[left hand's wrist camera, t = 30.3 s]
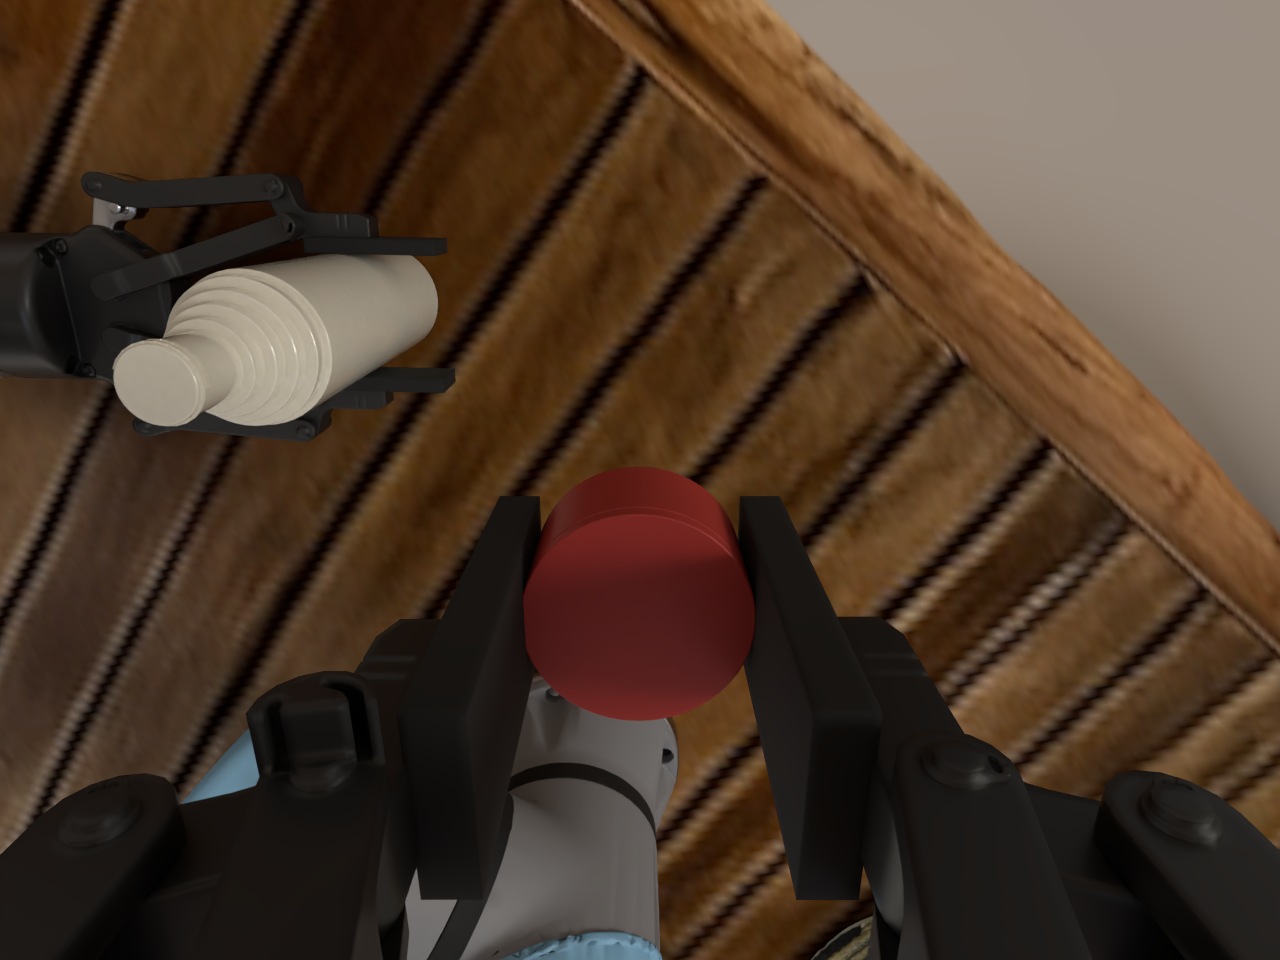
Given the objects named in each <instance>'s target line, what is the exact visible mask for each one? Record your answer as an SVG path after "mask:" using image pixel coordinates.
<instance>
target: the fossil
mask: <svg viewBox="0 0 1280 960" xmlns="http://www.w3.org/2000/svg"><path fill="white" fill-rule="evenodd" d="M872 918H873V916H871V917H868V918H866V919H864V920H861V921H859V922H857V923H855V924H853V925H851V926H849V927H848V928H846V929H845V930H843V931H842V932H840V933H839V934H838V935H837V936H836V937H834V938H833V939H832V940H831V941H829V942H828V943H827V945H826V946H825V947H824V948H822V949H821V950H819V951H818V952H817V953H816V954H815V956H814V957H813V958H812V959H811V960H867V953H868V946H869V939H870V932H871V925H872Z"/></svg>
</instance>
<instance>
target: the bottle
mask: <svg viewBox="0 0 1280 960" xmlns="http://www.w3.org/2000/svg"><path fill="white" fill-rule="evenodd" d="M437 311H438V298H437V292H436V288H435V285H434V283H433V280H432V278H431V277H430V275H429V273H428V272H427V270H426V269H425V268H424V266H423V265H422V264H421V263H420V262H419V261H418V260H416V259H415V258H414V257H413V256H409V255H363V254H321V255H315V256H308V257H302V258H296V259H289V260H283V261H277V262H270V263H264V264H257V265H251V266H245V267H238V268H232V269H226V270H222V271H218V272H215V273H212V274H210V275H208V276H206V277H204V278H202V279H201V280H199V281H198V282H197V283H196V284H194V285H193V286H192V287H191V288H189V289H188V290H187V291H186V292H184V294H183V295H182V296H181V297H180V298H179V299H178V301H177V302H176V304H175V305H174V307H173V309H172V311H171V313H170V315H169V319H168V323H167V327H166V331H165V333H164V337H163V338H161V339H147V340H144V341H140V342H137V343H133V344H131V345H129V346H128V347H126V348H125V349H123V350H122V351H121V352H120V354H119V355H118V356H117V358H116V359H115V362H114V365H113V368H112V369H114V374H113V379H114V386H115V389H116V392H117V394H118V397H119V398H120V400H121V402H122V403H123V404H124V406H125V407H126V408H127V409H128V410H129V411H130V412H131V413H132V414H134V415H135V416H136V417H138V418H140V419H141V420H143V421H145V422H148V423H151V424H154V425H160V426H179V425H183V424H186V423H188V422H190V421H191V420H193V419H195V418H196V417H197V416H198V415H199V414H201V413H203V412H207V413H210V414H213V415H215V416H217V417H220V418H222V419H224V420H227V421H230V422H233V423H237V424H242V425H250V426H262V425H275V424H281V423H286V422H289V421H291V420H294V419H296V418H298V417H300V416H302V415H304V414H305V413H307V412H309V411H310V410H312V409H313V408H315V407H317V406H318V405H320V404H321V403H323V402H325V401H326V400H328V399H329V398H331V397H333V396H334V395H336V394H337V393H339V392H341V391H342V390H344V389H345V388H347V387H349V386H350V385H352V384H353V383H355V382H357V381H358V380H360V379H361V378H363V377H365V376H366V375H368V374H369V373H371V372H373V371H374V370H376V369H377V368H379V367H381V366H382V365H384V364H385V363H387V362H389V361H390V360H392V359H393V358H395V357H397V356H398V355H400V354H401V353H403V352H405V351H406V350H408V349H409V348H411V347H413V346H414V345H416V344H417V343H419V342H420V341H421V340H423V339H424V338H425V337H426V336H427V334H428V333H429V332H430V330H431V329H432V327H433V325H434V322H435V320H436V316H437Z"/></svg>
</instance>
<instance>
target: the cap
mask: <svg viewBox="0 0 1280 960" xmlns="http://www.w3.org/2000/svg"><path fill="white" fill-rule="evenodd" d="M523 605H524V621H525V638H526V651H527V653H528V655H529V657H530V660H531V662H532V663H533V665H534V667H535V668H536V670H537V671H538V673H539V674H540V675H541V677H542V678H543V679H544V680H545V681H546V682H547V684H548V685H549V686H550V687H551V688H553V689H554V690H555V691H556V692H557V693H558V694H559V695H561V696H562V697H564V698H565V699H566V700H568V701H569V702H571V703H573V704H575V705H576V706H578V707H580V708H582V709H584V710H587V711H589V712H592V713H594V714H597V715H601V716H604V717H608V718H613V719H619V720H627V721H648V720H658V719H663V718H669V717H672V716H676V715H679V714H682V713H685V712H687V711H690V710H692V709H694V708H696V707H698V706H700V705H702V704H704V703H705V702H707V701H709V700H710V699H711V698H713V697H714V696H715V695H717V694H718V693H719V692H721V691H722V690H723V689H724V688H725V687H726V686H727V685H728V684H729V683H730V682H731V681H732V679H733V678H734V677H735V676H736V674H737V673H738V672H739V670H740V669H741V667H742V665H743V664H744V662H745V660H746V658H747V656H748V654H749V651H750V649H751V646H752V642H753V639H754V629H755V611H756V606H755V600H754V595H753V591H752V588H751V584H750V581H749V577H748V574H747V571H746V567H745V564H744V560H743V557H742V553H741V550H740V546H739V543H738V540H737V536H736V533H735V530H734V527H733V525H732V523H731V521H730V519H729V517H728V515H727V514H726V512H725V511H724V509H723V508H722V506H721V505H720V504H719V503H718V502H717V500H716V499H715V498H714V497H713V496H712V495H711V494H710V493H708V492H707V491H706V490H705V489H704V488H702V487H701V486H699V485H698V484H696V483H695V482H693V481H691V480H690V479H688V478H685V477H683V476H681V475H679V474H676V473H673V472H670V471H667V470H662V469H657V468H651V467H627V468H620V469H615V470H610V471H607V472H604V473H601V474H598V475H595V476H593V477H591V478H589V479H587V480H585V481H583V482H582V483H580V484H579V485H577V486H576V487H574V488H573V489H572V490H571V491H569V492H568V493H567V494H566V495H565V496H564V497H563V498H562V499H561V500H560V501H559V502H558V503H557V505H556V506H555V507H554V509H553V510H552V512H551V513H550V515H549V516H548V518H547V520H546V522H545V524H544V527H543V529H542V532H541V536H540V539H539V542H538V546H537V549H536V552H535V556H534V559H533V562H532V566H531V569H530V572H529V575H528V579H527V582H526V585H525V589H524V592H523Z"/></svg>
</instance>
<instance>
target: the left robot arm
mask: <svg viewBox="0 0 1280 960" xmlns="http://www.w3.org/2000/svg"><path fill="white" fill-rule="evenodd" d="M540 536H541V515H540V496H500V497H499V499H498V501H497V504H496V506H495V508H494V510H493V512H492V514H491V516H490V518H489V520H488V522H487V524H486V527H485V529H484V531H483V533H482V535H481V537H480V539H479V541H478V543H477V545H476V548H475V550H474V552H473V554H472V556H471V558H470V560H469V562H468V564H467V566H466V568H465V571H464V573H463V575H462V577H461V579H460V581H459V583H458V585H457V587H456V589H455V591H454V594H453V596H452V598H451V600H450V602H449V604H448V606H447V608H446V610H445V612H444V614H443V617H442V619H400V620H399V621H397V622H396V623H394V624H393V625H392V626H390V627H389V628H388V629H386V630H385V631H384V632H382V633H381V634H380V635H378V636H377V637H376V638H375V640H374V641H373V643H372V645H371V646H370V648H369V650H368V651H367V653H366V654H365V656H364V658H363V659H364V660H363V662H361V663H360V664H359V666H358V668H357V669H356V671H355V673H351V672H347V671H322V672H318V673H313V674H308V675H303V676H299V677H296V678H294V679H292V680H289V681H287V682H284V683H282V684H279V685H277V686H275V687H274V688H272V689H271V690H269V691H268V692H267V693H265V694H264V695H262V696H261V697H259V698H258V699H257V700H256V701H255V703H254V704H253V705H252V706H251V708H250V709H249V710H248V712H247V713H246V717H247V721H248V726H249V728H248V729H247V730H246V731H245V732H244V733H243V734H242V735H241V736H240V738H239V739H238V740H237V741H236V742H235V743H234V744H233V745H232V746H231V747H230V748H229V749H228V750H227V751H226V752H225V753H224V755H223V756H222V757H221V758H220V759H219V760H218V761H217V762H216V763H215V765H214V766H213V767H212V768H211V769H210V770H209V771H208V772H207V774H206V775H205V776H204V777H203V778H202V779H201V781H200V782H199V783H198V784H197V785H196V786H195V788H194V789H193V790H192V791H191V793H190V794H189V795H188V796H187V797H186V799H185V800H184V801H183V802H182V803H181V804H179V800H178V796H177V793H176V789H175V787H174V786H173V785H172V784H171V783H170V782H169V781H168V780H167V779H165V778H164V777H160V776H155V775H150V774H145V773H144V774H134V775H123V776H118V777H114V778H111V779H107V780H105V781H101V782H98V783H95V784H92V785H89V786H88V787H86V788H84V789H82V790H80V791H78V792H76V793H74V794H72V795H70V796H68V797H66V798H64V799H62V800H61V801H60V802H59V803H57V804H56V805H55V806H53V807H52V808H51V809H49V810H48V811H47V812H45V813H44V814H43V815H42V816H40V817H39V818H38V819H37V820H36V821H35V822H34V823H33V824H32V825H31V826H30V827H29V828H28V829H27V830H26V831H25V832H24V833H22V834H21V835H20V836H19V837H18V838H17V839H16V840H15V841H14V842H13V843H12V844H11V845H10V846H9V847H8V848H7V849H6V850H5V851H4V852H3V853H2V854H1V855H0V960H662V957H661V953H660V938H659V908H658V878H657V848H656V831H657V828H658V826H659V823H660V821H661V818H662V816H663V813H664V811H665V808H666V806H667V803H668V801H669V798H670V796H671V793H672V791H673V788H674V785H675V782H676V779H677V774H678V767H679V753H678V739H677V733H676V729H675V725H674V722H673V720H672V717H669V718H663V719H658V720H648V721H627V720H619V719H613V718H608V717H604V716H601V715H597V714H594V713H592V712H589V711H587V710H584V709H582V708H580V707H578V706H576V705H575V704H573V703H571V702H569V701H568V700H566V699H565V698H564V697H562V696H561V695H559V694H558V693H557V692H556V691H555V690H554V689H553V688H551V687H550V686H549V685H548V684H547V682H546V681H545V680H544V679H543V678H542V677H541V675H540V674H539V673H538V671H537V670H536V668H535V667H534V665H533V663H532V662H531V660H530V657H529V655H528V653H527V651H526V638H525V621H524V605H523V592H524V589H525V585H526V582H527V579H528V575H529V572H530V569H531V566H532V562H533V559H534V556H535V552H536V549H537V546H538V542H539V539H540ZM738 543H739V546H740V550H741V553H742V557H743V560H744V564H745V567H746V571H747V574H748V577H749V581H750V584H751V588H752V591H753V595H754V600H755V606H756V611H755V629H754V639H753V642H752V646H751V649H750V651H749V654H748V656H747V658H746V660H745V662H744V668H745V673H746V677H747V682H748V686H749V691H750V695H751V700H752V704H753V709H754V713H755V717H756V722H757V726H758V731H759V735H760V740H761V744H762V749H763V753H764V757H765V762H766V766H767V771H768V775H769V780H770V784H771V789H772V793H773V797H774V802H775V806H776V811H777V815H778V820H779V824H780V829H781V833H782V838H783V842H784V846H785V851H786V855H787V860H788V864H789V869H790V873H791V878H792V882H793V886H794V891H795V895H796V900H859V893H860V886H861V878H862V870H863V866H864V869H865V872H866V875H867V878H868V881H869V884H870V887H871V890H872V892H873V895H874V898H875V904H874V911H873V918H872V925H871V932H870V939H869V946H868V953H867V960H1280V850H1279V849H1278V848H1276V847H1275V846H1274V845H1273V844H1272V843H1271V842H1270V841H1269V840H1268V839H1267V838H1266V837H1265V836H1264V835H1263V834H1262V833H1261V832H1260V831H1259V830H1258V829H1257V828H1256V827H1254V826H1253V825H1252V824H1251V823H1250V822H1249V821H1248V820H1247V819H1246V818H1245V817H1244V816H1243V815H1242V814H1241V813H1240V812H1238V811H1237V810H1236V809H1234V808H1233V807H1232V806H1230V805H1229V804H1228V803H1226V802H1225V801H1224V800H1223V799H1221V798H1220V797H1219V796H1217V795H1215V794H1213V793H1211V792H1209V791H1207V790H1205V789H1204V788H1202V787H1200V786H1198V785H1196V784H1194V783H1192V782H1190V781H1187V780H1183V779H1181V778H1178V777H1174V776H1170V775H1167V774H1164V773H1160V772H1150V771H1140V770H1133V771H1129V772H1124V773H1119V774H1116V775H1114V776H1113V777H1112V778H1111V779H1110V780H1109V781H1108V782H1107V783H1106V784H1105V786H1104V790H1103V794H1102V798H1101V801H1097V800H1093V799H1088V798H1084V797H1079V796H1075V795H1070V794H1066V793H1061V792H1057V791H1052V790H1048V789H1045V788H1041V787H1038V786H1034V785H1031V784H1028V783H1025V782H1023V780H1022V777H1021V775H1020V774H1019V772H1018V771H1017V769H1016V768H1015V766H1014V765H1013V763H1012V762H1011V760H1010V759H1009V758H1007V757H1006V756H1005V755H1004V754H1002V753H1001V752H1000V751H998V750H997V749H996V748H995V747H993V746H992V745H990V744H988V743H986V742H984V741H981V740H979V739H977V738H975V737H973V736H971V735H968V734H964V732H963V731H962V729H961V727H960V726H959V724H958V722H957V721H956V719H955V718H954V716H953V714H952V713H951V711H950V709H949V708H948V706H947V704H946V703H945V701H944V700H943V698H942V696H941V695H940V693H939V691H938V690H937V688H936V687H935V685H934V683H933V682H932V680H931V678H930V677H927V672H926V670H925V669H924V667H923V665H922V664H921V662H920V660H919V659H917V658H916V654H915V652H914V651H913V649H912V647H911V646H910V644H909V642H908V641H907V639H906V638H905V636H904V634H902V633H901V632H899V631H898V630H897V629H895V628H894V627H893V626H891V625H890V624H889V623H887V622H886V621H884V620H883V619H882V618H880V617H837V616H836V613H835V611H834V609H833V607H832V605H831V603H830V601H829V599H828V597H827V595H826V593H825V590H824V588H823V586H822V584H821V582H820V580H819V578H818V576H817V574H816V572H815V569H814V567H813V565H812V563H811V561H810V559H809V557H808V555H807V553H806V551H805V549H804V546H803V544H802V542H801V540H800V538H799V536H798V534H797V532H796V530H795V528H794V526H793V523H792V521H791V519H790V517H789V515H788V513H787V511H786V509H785V507H784V505H783V502H782V500H781V498H780V496H740V505H739V526H738Z"/></svg>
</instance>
